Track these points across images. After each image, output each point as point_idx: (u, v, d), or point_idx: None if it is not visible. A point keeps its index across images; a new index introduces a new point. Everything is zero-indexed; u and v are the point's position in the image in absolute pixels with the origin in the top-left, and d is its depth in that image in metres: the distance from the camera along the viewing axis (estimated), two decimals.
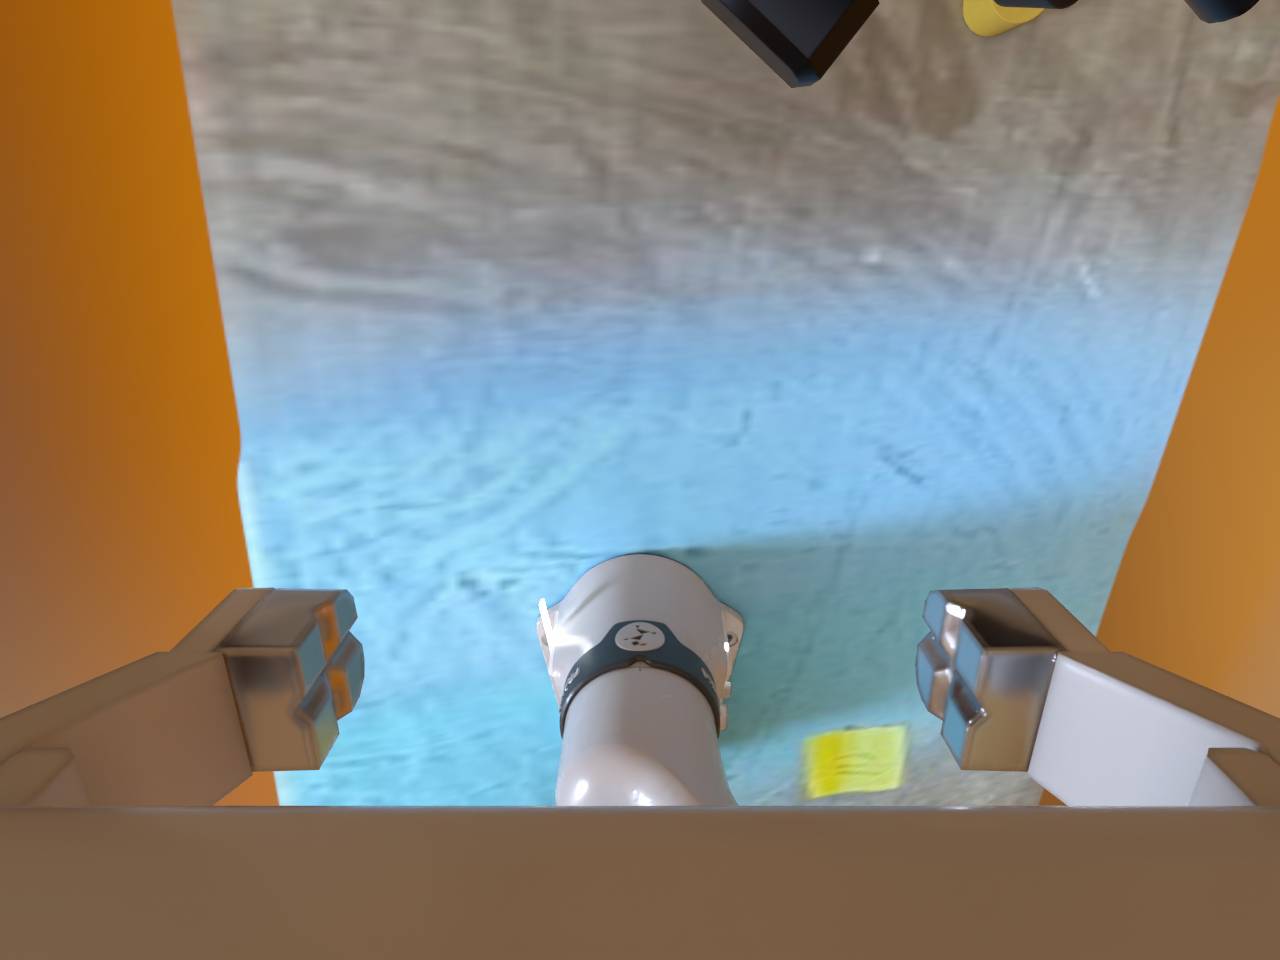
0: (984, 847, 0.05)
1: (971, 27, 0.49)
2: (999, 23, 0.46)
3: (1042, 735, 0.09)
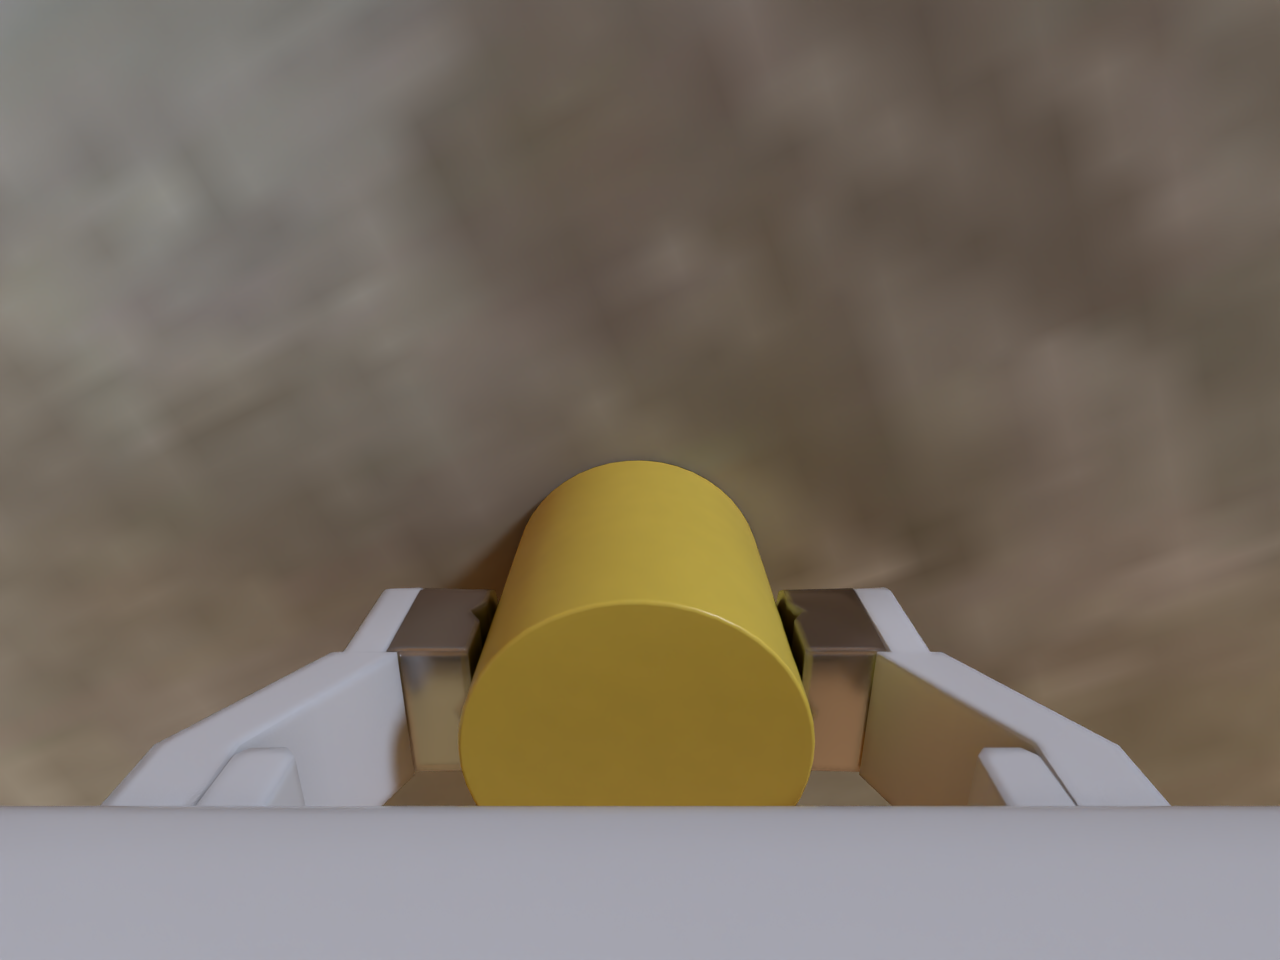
0: (984, 847, 0.05)
1: (670, 471, 0.11)
2: (622, 562, 0.08)
3: (868, 735, 0.09)
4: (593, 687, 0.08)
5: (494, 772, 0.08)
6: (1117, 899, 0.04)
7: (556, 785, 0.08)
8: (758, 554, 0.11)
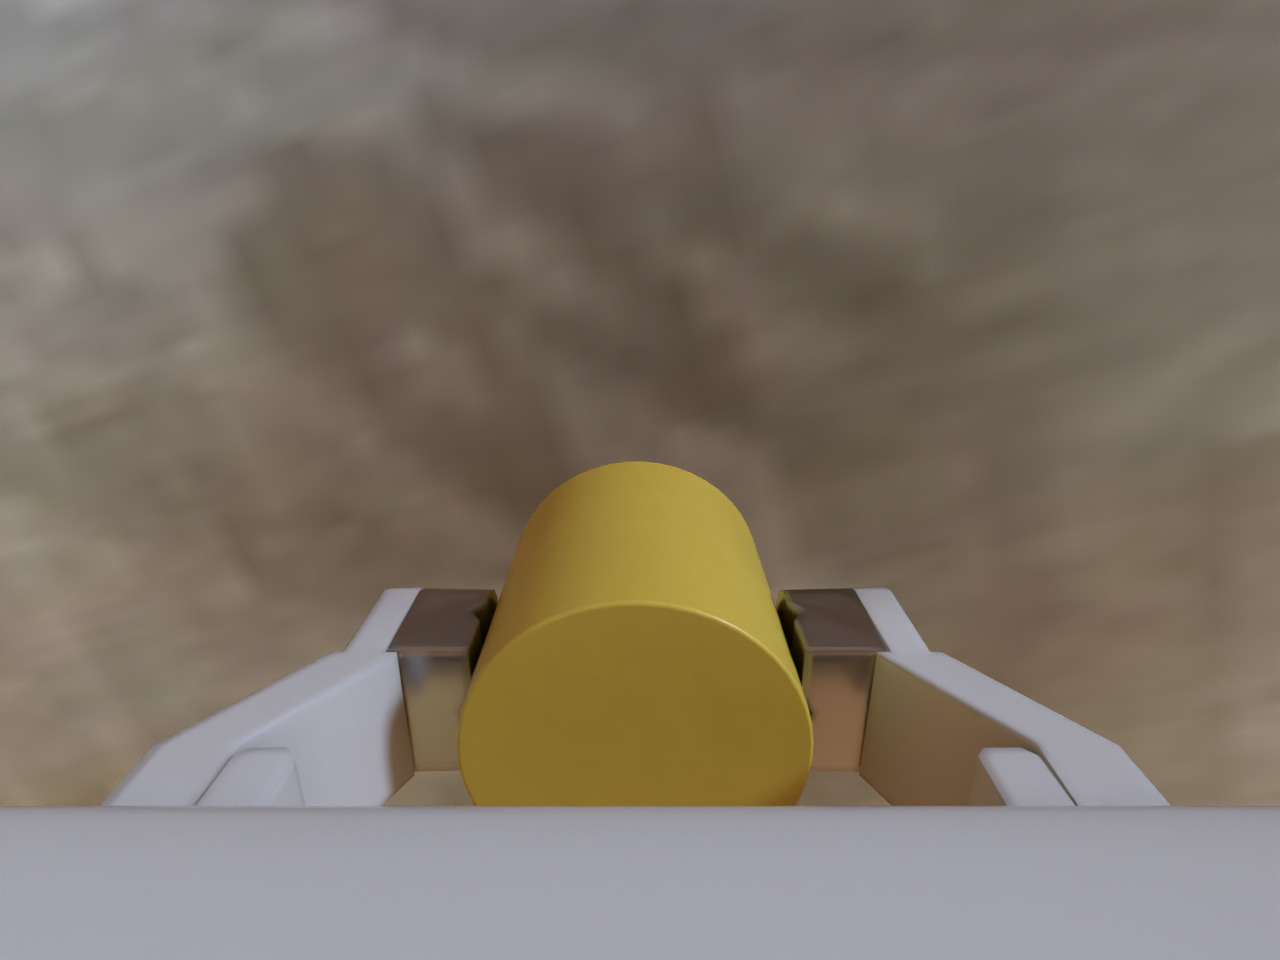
0: (984, 847, 0.05)
1: (669, 472, 0.11)
2: (621, 564, 0.08)
3: (868, 735, 0.09)
4: (591, 688, 0.08)
5: (493, 773, 0.08)
6: (1117, 899, 0.04)
7: (555, 786, 0.08)
8: (757, 555, 0.11)
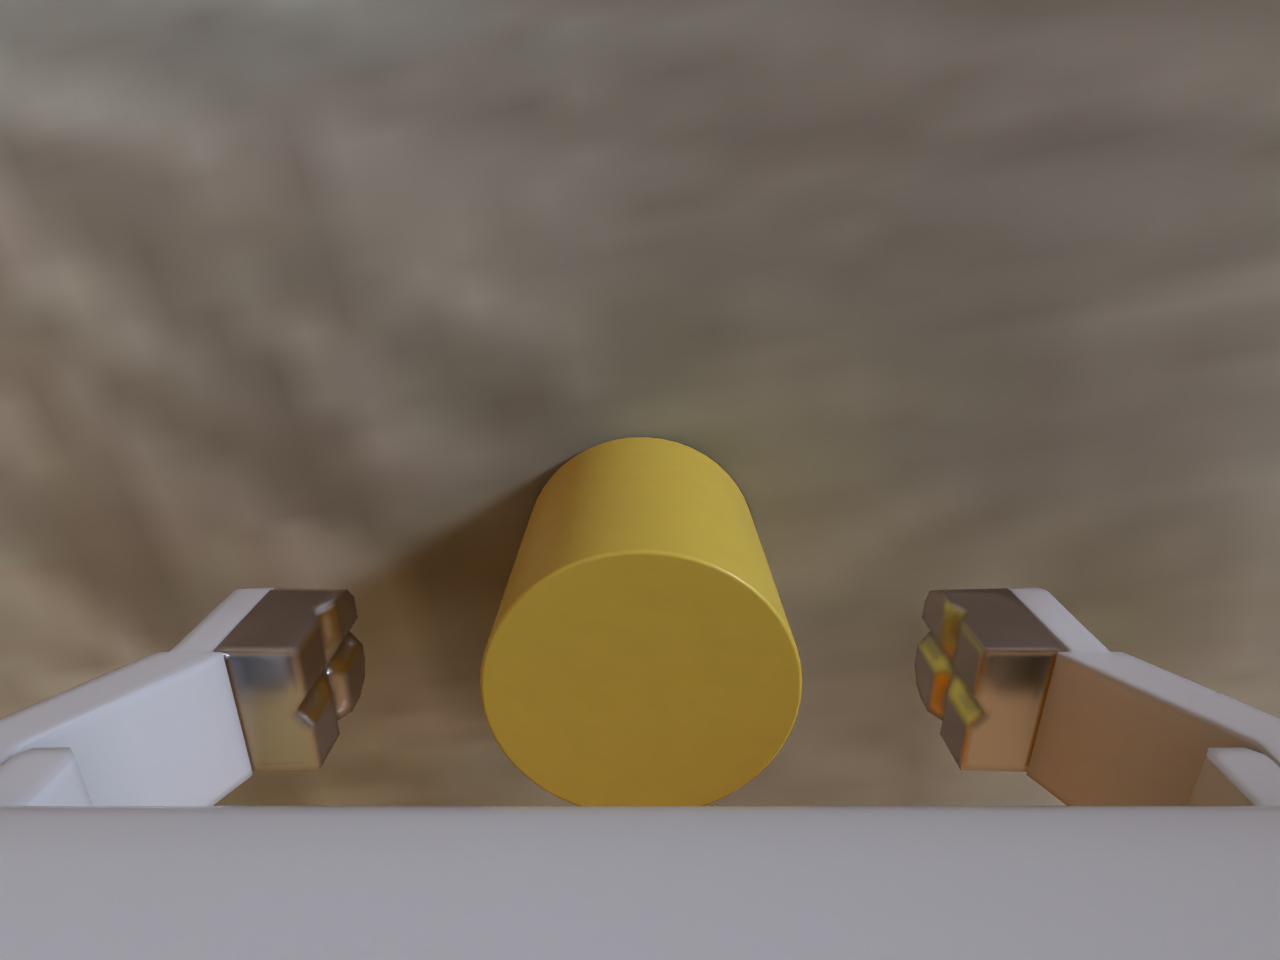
0: (984, 847, 0.05)
1: (671, 446, 0.12)
2: (628, 521, 0.09)
3: (1041, 735, 0.09)
4: (602, 630, 0.09)
5: (513, 710, 0.09)
6: (1117, 899, 0.04)
7: (568, 722, 0.09)
8: (752, 522, 0.12)
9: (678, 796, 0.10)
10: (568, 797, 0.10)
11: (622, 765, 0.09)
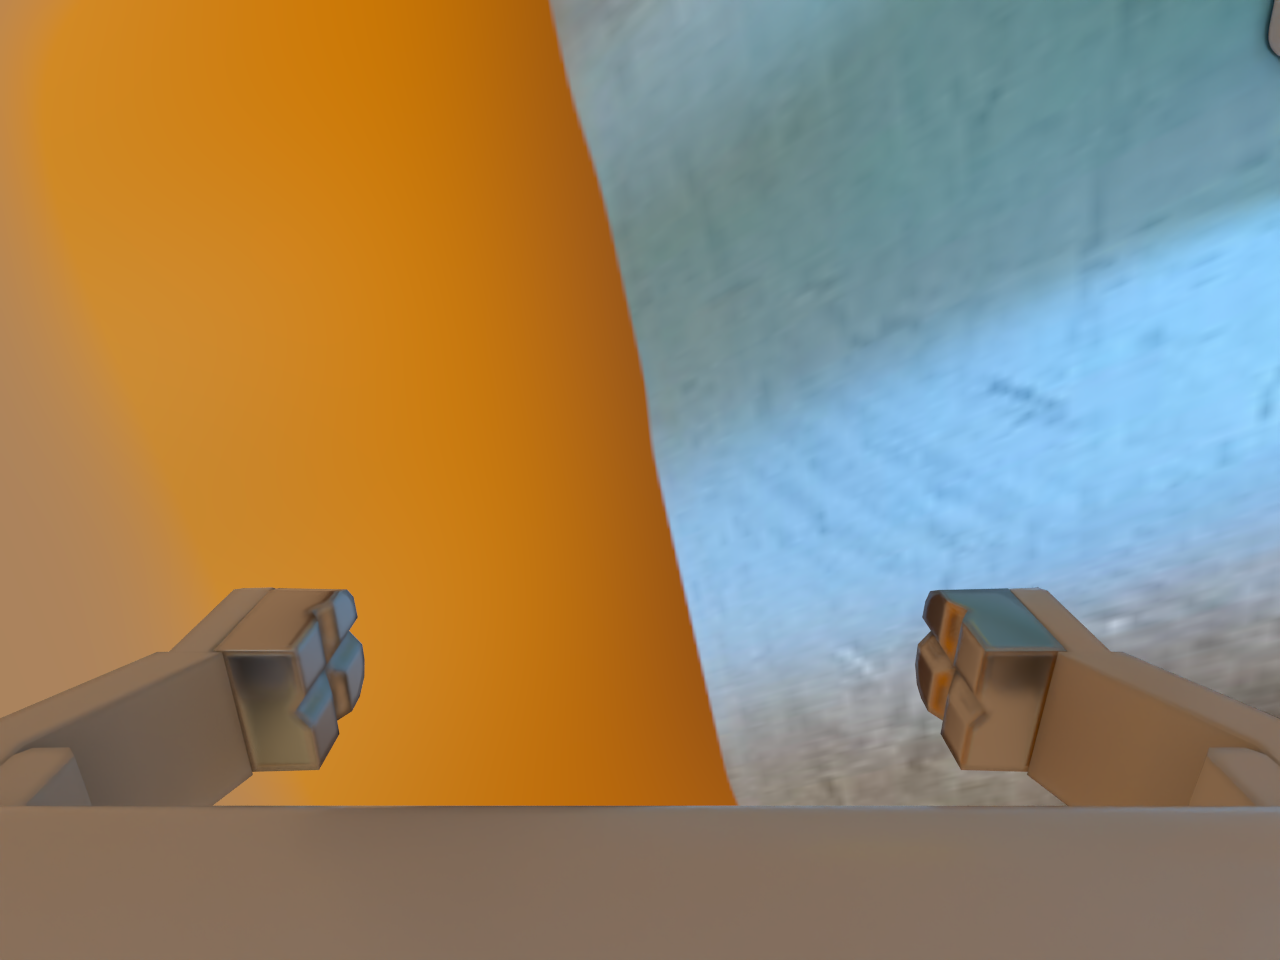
0: (985, 845, 0.05)
1: None
2: None
3: (1042, 735, 0.09)
4: None
5: None
6: (1117, 899, 0.04)
7: None
8: None
9: None
10: None
11: None
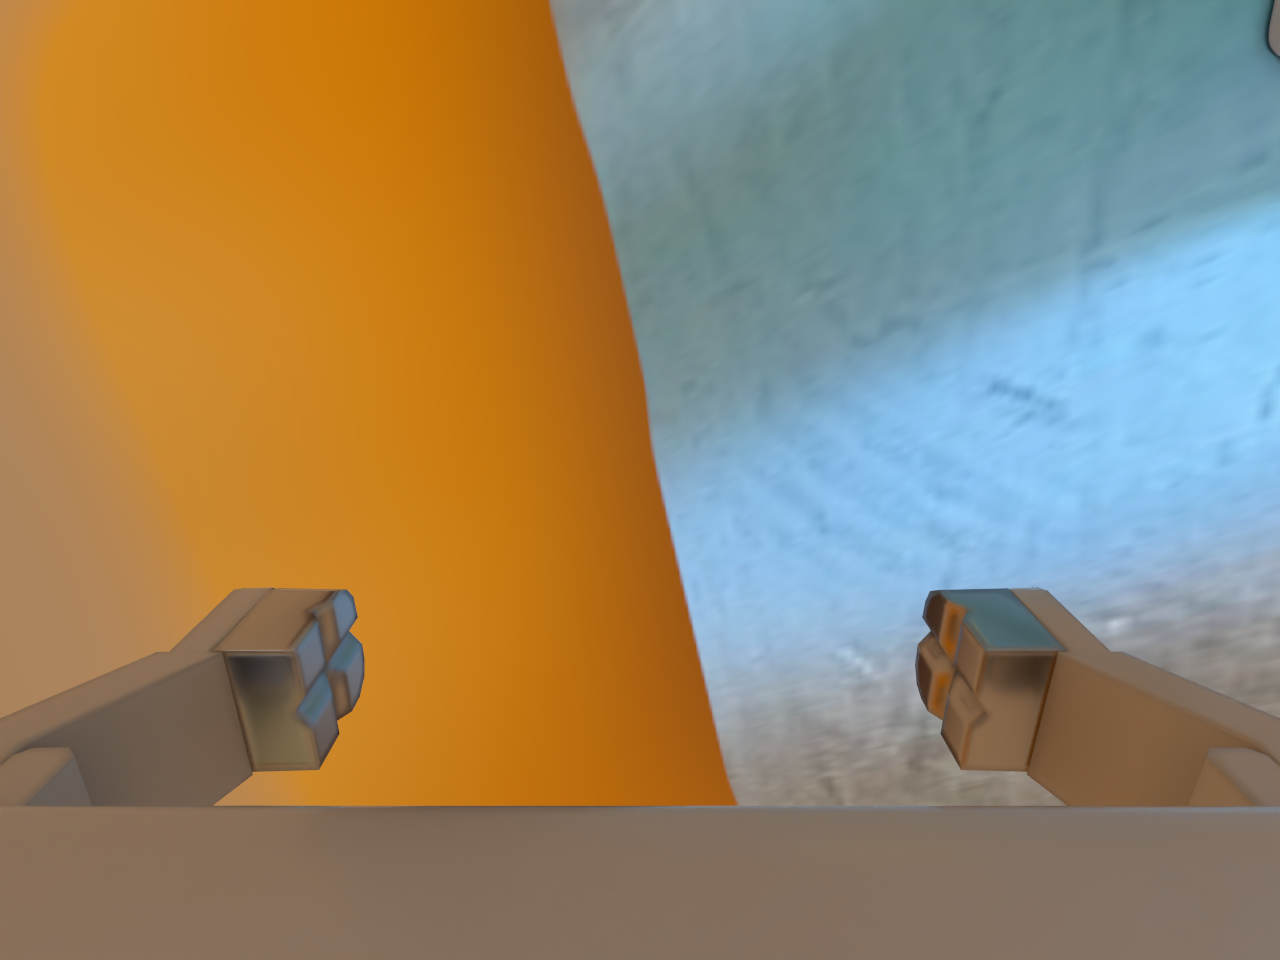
0: (983, 844, 0.05)
1: None
2: None
3: (1042, 735, 0.09)
4: None
5: None
6: (1117, 899, 0.04)
7: None
8: None
9: None
10: None
11: None
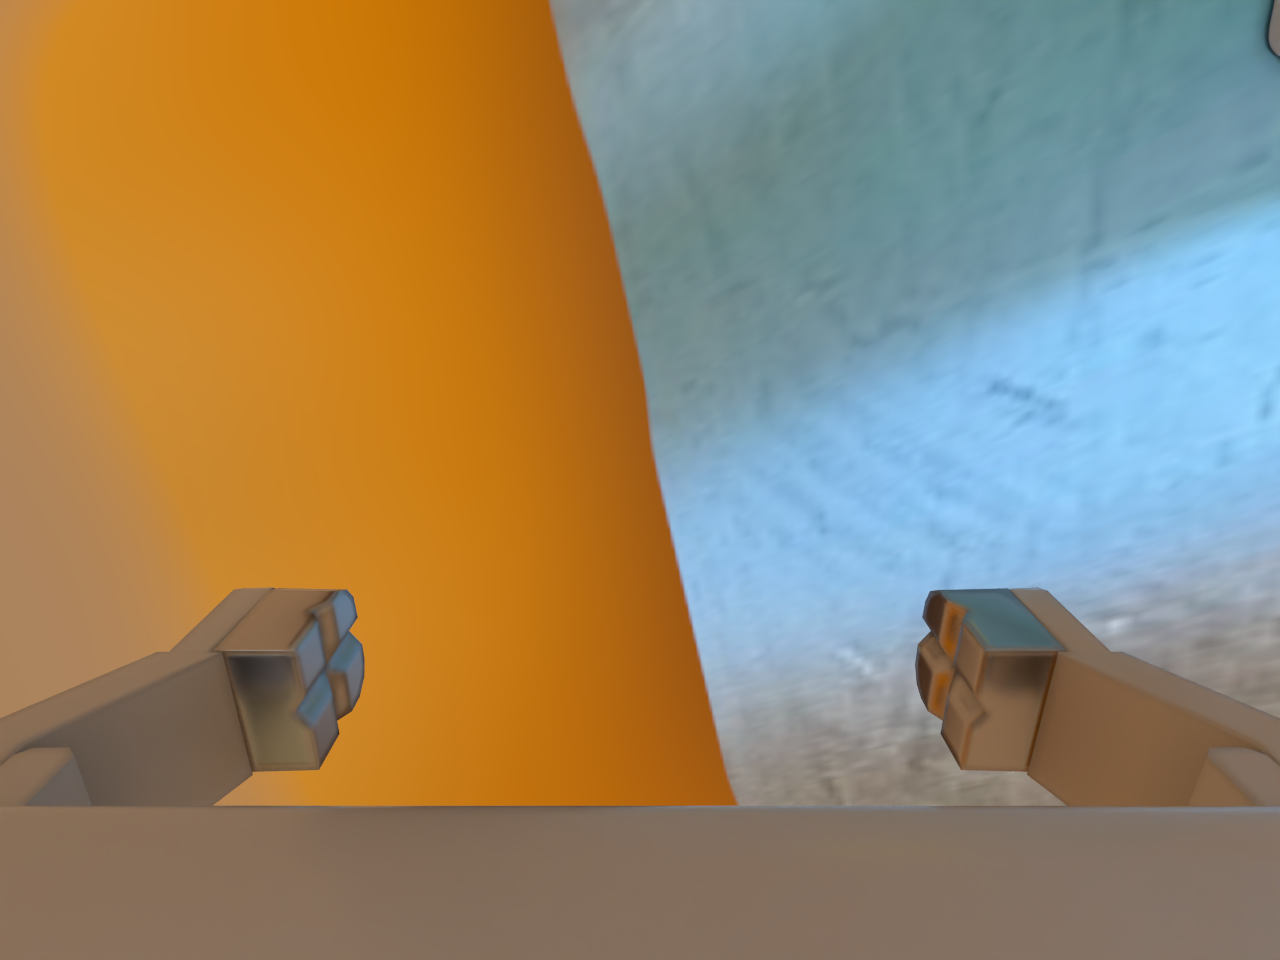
0: (983, 846, 0.05)
1: None
2: None
3: (1042, 735, 0.09)
4: None
5: None
6: (1117, 899, 0.04)
7: None
8: None
9: None
10: None
11: None
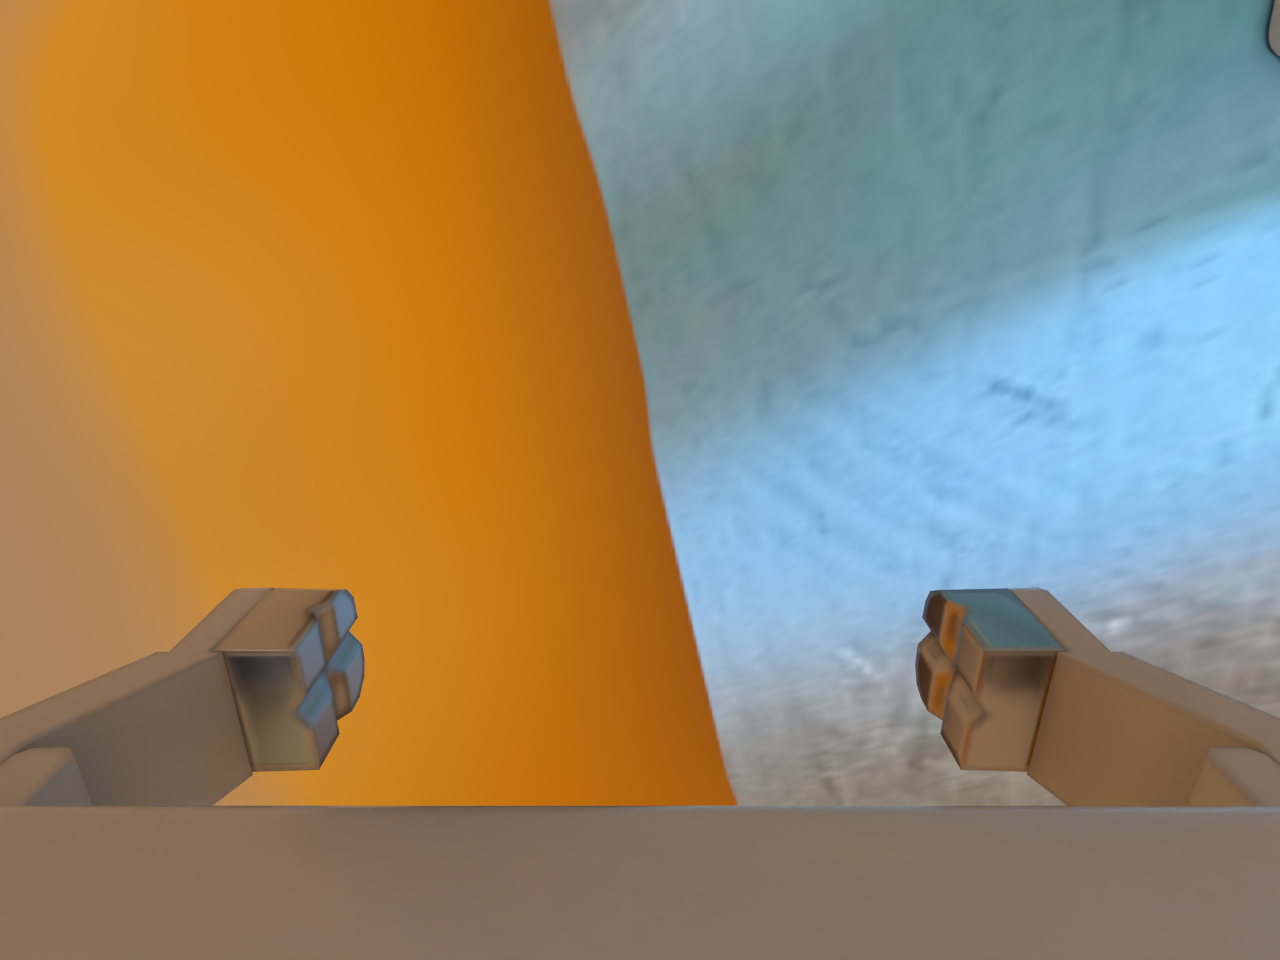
0: (982, 847, 0.05)
1: None
2: None
3: (1042, 735, 0.09)
4: None
5: None
6: (1117, 899, 0.04)
7: None
8: None
9: None
10: None
11: None
